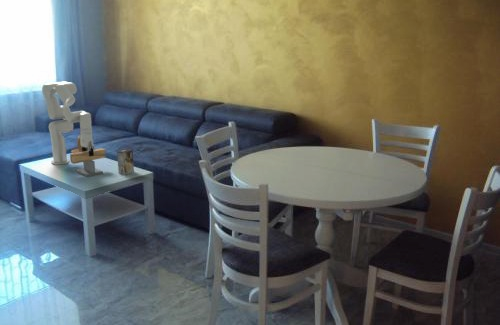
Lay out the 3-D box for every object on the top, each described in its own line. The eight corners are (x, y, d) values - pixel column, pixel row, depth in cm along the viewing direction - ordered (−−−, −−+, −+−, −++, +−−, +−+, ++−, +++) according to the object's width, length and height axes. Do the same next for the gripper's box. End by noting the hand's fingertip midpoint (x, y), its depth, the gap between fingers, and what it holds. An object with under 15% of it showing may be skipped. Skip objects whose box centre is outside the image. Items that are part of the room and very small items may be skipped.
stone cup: (94, 154, 382) (92, 136, 378) (80, 157, 374) (78, 139, 370) (84, 151, 392) (83, 133, 388) (70, 153, 384) (69, 135, 379)
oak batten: (70, 162, 327) (69, 154, 325) (102, 156, 343) (101, 148, 342) (73, 163, 324) (73, 155, 322) (105, 157, 340) (105, 149, 339)
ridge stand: (76, 172, 337) (75, 159, 335) (91, 168, 346) (90, 156, 343) (87, 177, 327) (86, 163, 324) (103, 173, 335) (102, 160, 332)
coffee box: (127, 170, 343) (126, 148, 339) (134, 171, 340) (133, 150, 336) (118, 173, 336) (116, 151, 331) (124, 175, 333) (123, 152, 328)
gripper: (75, 129, 331) (77, 153, 336) (87, 133, 319) (89, 158, 324) (85, 127, 336) (86, 151, 341) (97, 132, 325) (99, 156, 329)
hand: (88, 154), depth 333 cm, fingers open, 9 cm apart
